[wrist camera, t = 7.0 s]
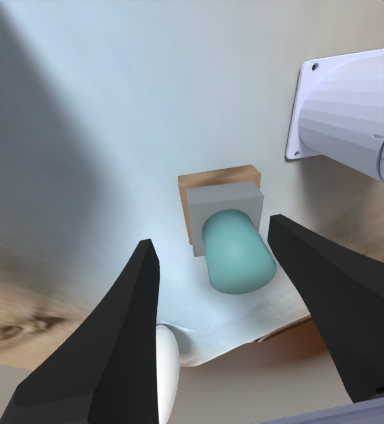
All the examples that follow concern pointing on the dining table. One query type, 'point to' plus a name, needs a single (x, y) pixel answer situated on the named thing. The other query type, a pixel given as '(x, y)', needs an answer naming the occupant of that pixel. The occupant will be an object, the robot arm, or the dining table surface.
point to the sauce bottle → (166, 371)
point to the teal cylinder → (236, 253)
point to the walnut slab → (214, 183)
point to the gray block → (221, 206)
